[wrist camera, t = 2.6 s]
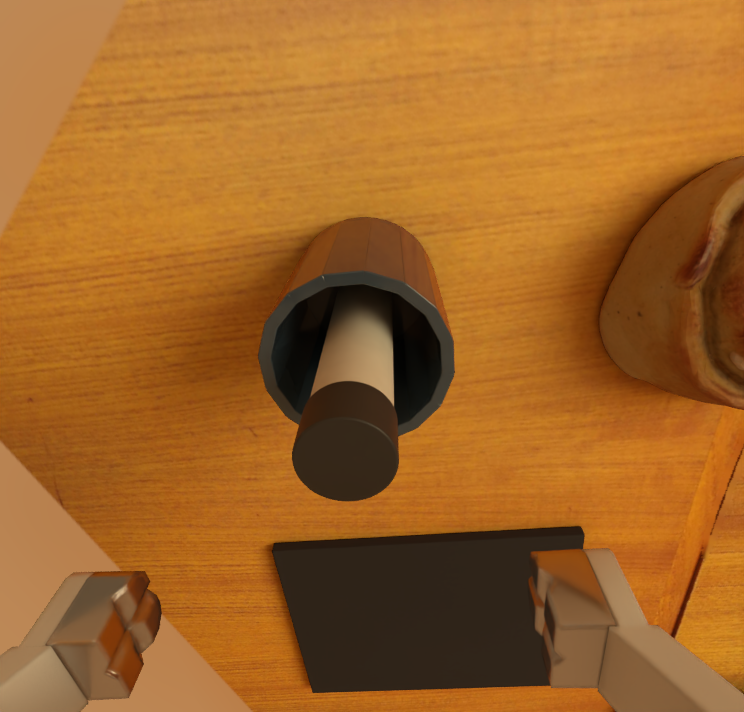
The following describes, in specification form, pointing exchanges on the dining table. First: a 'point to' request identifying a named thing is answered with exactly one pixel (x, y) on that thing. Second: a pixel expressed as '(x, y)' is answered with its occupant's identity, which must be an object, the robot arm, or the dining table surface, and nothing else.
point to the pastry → (685, 293)
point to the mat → (418, 609)
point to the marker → (352, 402)
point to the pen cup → (315, 306)
